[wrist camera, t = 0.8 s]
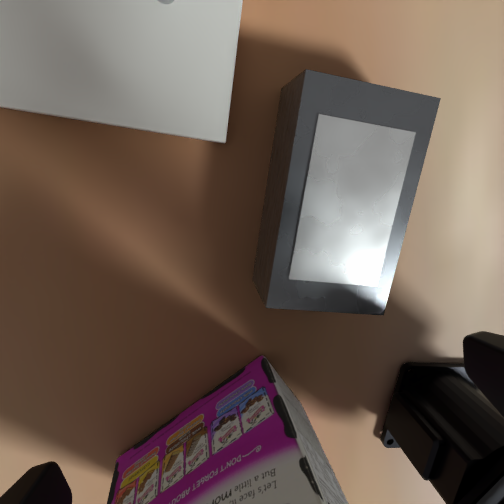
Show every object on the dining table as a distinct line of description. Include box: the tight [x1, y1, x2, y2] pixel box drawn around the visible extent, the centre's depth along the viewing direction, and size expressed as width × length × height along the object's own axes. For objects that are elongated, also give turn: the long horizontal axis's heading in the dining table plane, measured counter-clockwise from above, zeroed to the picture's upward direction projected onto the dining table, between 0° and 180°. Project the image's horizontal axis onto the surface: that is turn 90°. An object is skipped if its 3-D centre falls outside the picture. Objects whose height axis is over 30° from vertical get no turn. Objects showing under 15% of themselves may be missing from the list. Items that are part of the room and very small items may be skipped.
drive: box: [252, 69, 441, 315], centre depth 17 cm, size 6×10×4 cm, turn 172°
